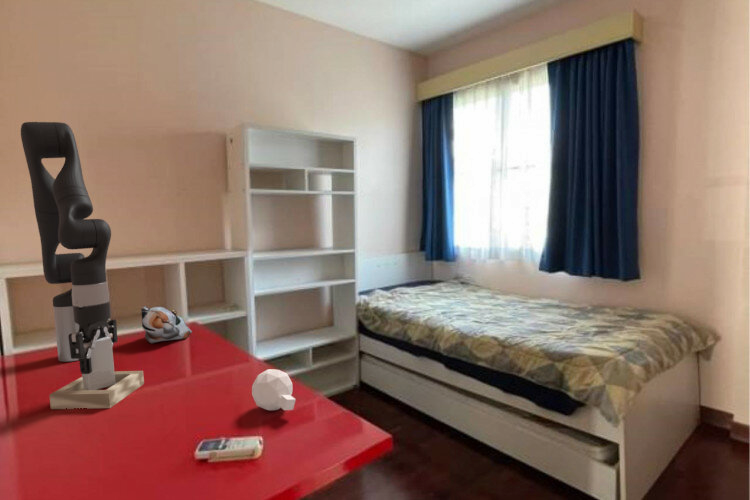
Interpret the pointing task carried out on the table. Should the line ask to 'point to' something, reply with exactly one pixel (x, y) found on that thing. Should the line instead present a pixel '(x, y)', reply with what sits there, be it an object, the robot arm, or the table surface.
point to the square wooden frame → (96, 392)
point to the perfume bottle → (273, 390)
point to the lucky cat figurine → (163, 325)
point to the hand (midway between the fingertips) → (97, 367)
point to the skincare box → (100, 366)
